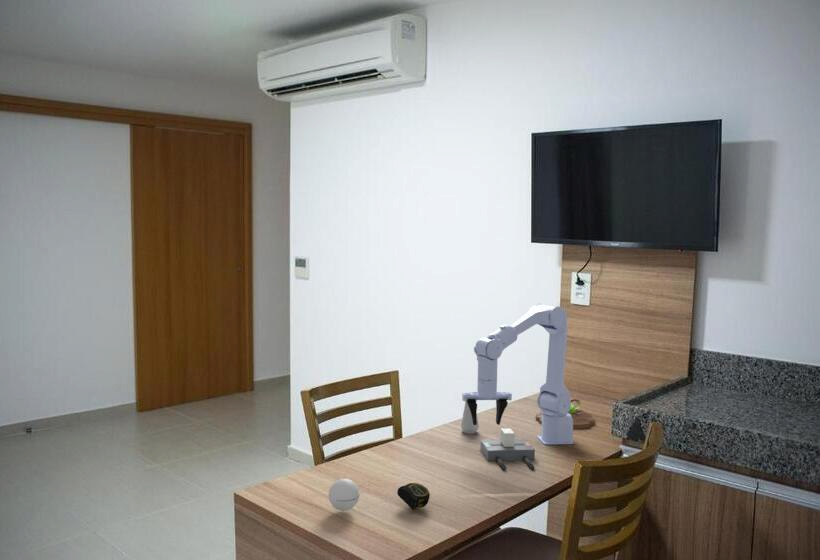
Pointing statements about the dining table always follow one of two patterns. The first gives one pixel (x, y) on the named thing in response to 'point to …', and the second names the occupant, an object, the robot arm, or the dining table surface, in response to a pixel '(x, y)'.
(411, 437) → the dining table surface
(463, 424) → the salt shaker
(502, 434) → the breaker handle
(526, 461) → the dressed cords
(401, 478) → the dining table surface
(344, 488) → the white oval body
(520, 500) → the dining table surface
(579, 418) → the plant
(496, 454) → the breaker block
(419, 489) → the tape measure
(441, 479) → the dining table surface
